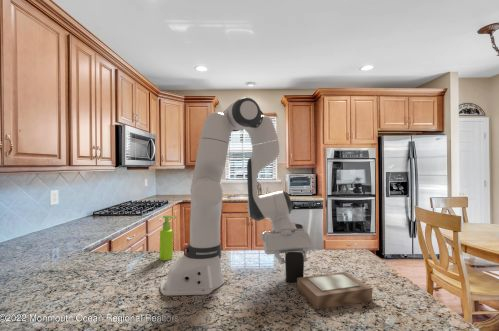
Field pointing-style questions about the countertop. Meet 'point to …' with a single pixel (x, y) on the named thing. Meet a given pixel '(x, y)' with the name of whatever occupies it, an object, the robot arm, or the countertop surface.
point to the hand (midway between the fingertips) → (293, 262)
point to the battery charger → (294, 265)
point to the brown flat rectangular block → (333, 290)
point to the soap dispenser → (166, 240)
